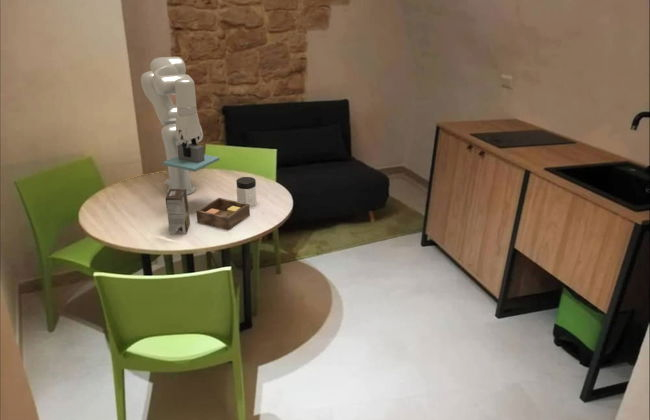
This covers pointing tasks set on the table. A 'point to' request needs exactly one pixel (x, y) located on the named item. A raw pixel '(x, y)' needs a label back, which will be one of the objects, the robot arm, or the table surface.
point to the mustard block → (232, 210)
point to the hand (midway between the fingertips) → (191, 154)
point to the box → (223, 213)
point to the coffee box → (177, 211)
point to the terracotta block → (214, 211)
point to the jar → (246, 190)
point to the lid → (191, 159)
